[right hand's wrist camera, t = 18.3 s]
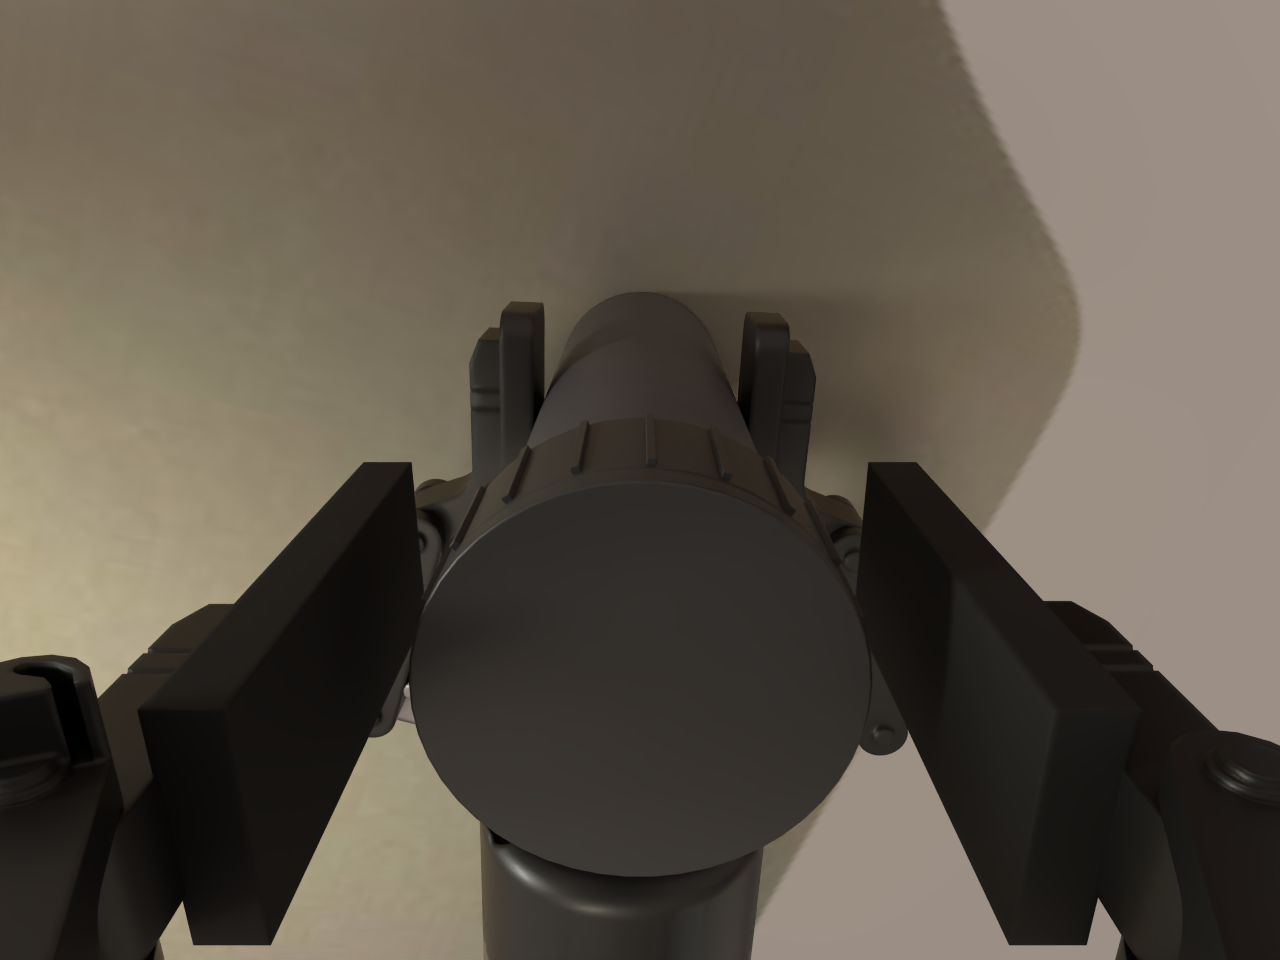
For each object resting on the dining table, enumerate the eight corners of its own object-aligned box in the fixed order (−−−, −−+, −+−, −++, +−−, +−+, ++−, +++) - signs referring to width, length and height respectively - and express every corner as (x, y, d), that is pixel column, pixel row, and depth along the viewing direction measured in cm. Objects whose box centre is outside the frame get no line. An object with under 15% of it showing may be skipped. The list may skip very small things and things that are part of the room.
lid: (475, 374, 11) (432, 430, 9) (882, 455, 11) (942, 528, 9) (426, 724, 13) (380, 843, 11) (777, 782, 13) (806, 910, 11)
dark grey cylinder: (668, 468, 26) (705, 858, 12) (536, 399, 26) (396, 721, 11) (745, 340, 25) (898, 597, 10) (608, 262, 24) (560, 419, 10)
